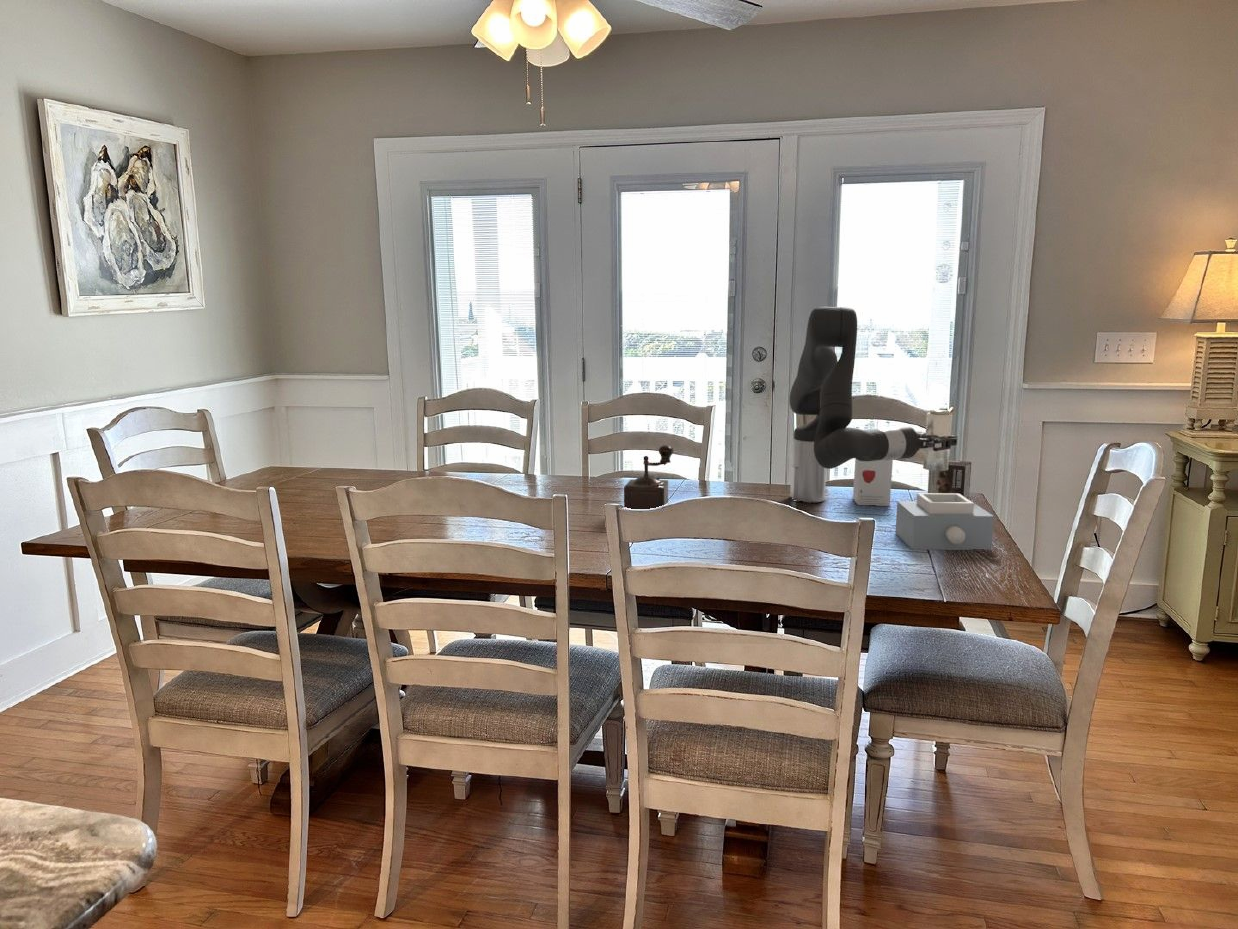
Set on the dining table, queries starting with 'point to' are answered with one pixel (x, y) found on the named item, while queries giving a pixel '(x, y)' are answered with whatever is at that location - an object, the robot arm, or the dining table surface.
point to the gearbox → (943, 523)
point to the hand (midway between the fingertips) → (945, 438)
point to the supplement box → (872, 482)
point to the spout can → (940, 426)
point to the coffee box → (951, 479)
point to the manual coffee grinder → (648, 486)
